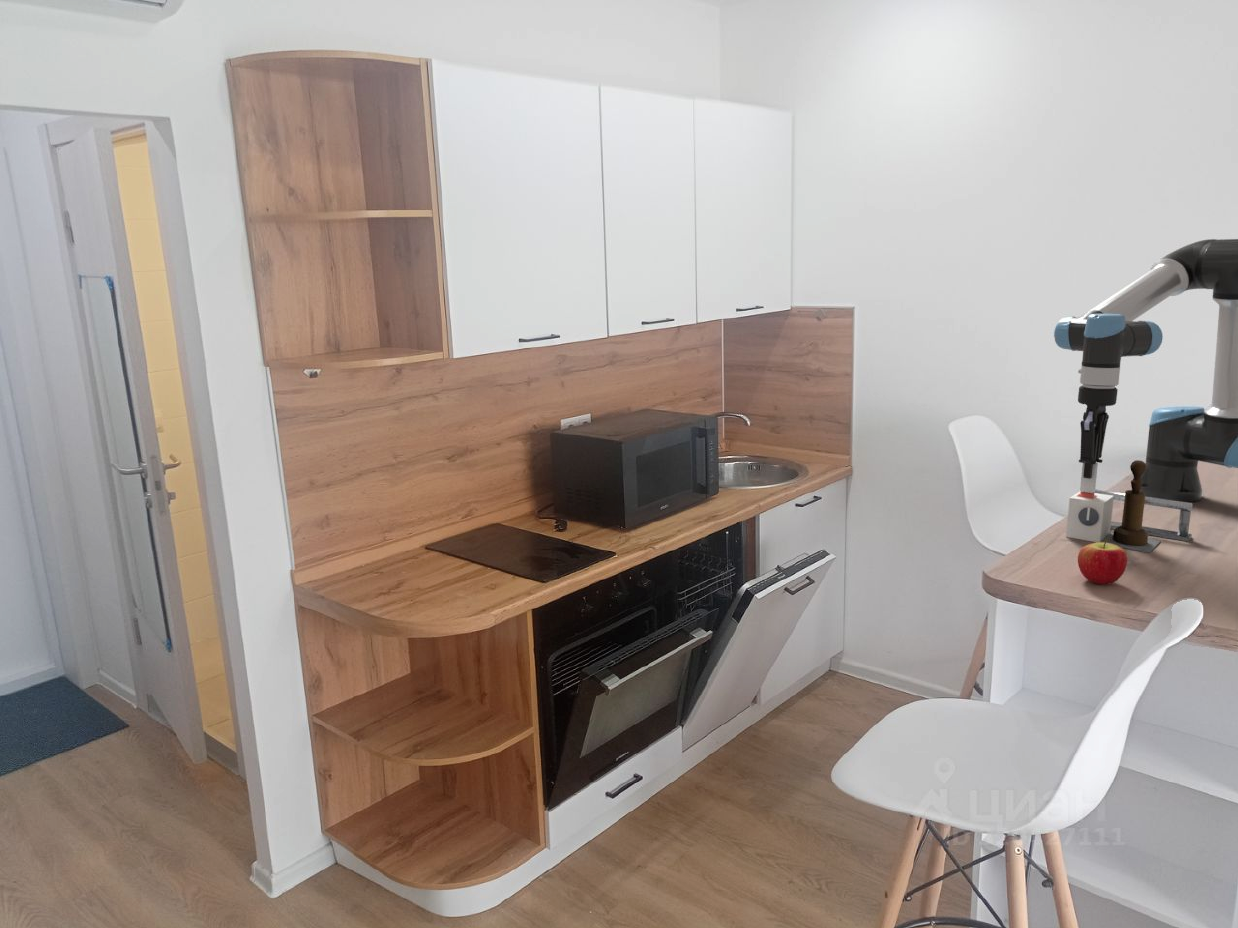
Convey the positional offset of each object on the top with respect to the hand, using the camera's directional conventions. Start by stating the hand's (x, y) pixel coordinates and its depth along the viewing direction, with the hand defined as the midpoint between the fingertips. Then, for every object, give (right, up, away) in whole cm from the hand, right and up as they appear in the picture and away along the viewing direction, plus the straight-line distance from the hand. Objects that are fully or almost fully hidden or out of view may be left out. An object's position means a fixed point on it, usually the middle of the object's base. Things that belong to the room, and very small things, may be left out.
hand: (1087, 491), depth 211 cm
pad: (+7, -11, -4) cm, 14 cm away
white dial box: (+1, -10, +2) cm, 10 cm away
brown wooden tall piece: (+7, -11, -4) cm, 14 cm away
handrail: (+14, -9, +5) cm, 17 cm away
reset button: (0, -5, +1) cm, 5 cm away
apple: (-11, -17, -28) cm, 35 cm away
